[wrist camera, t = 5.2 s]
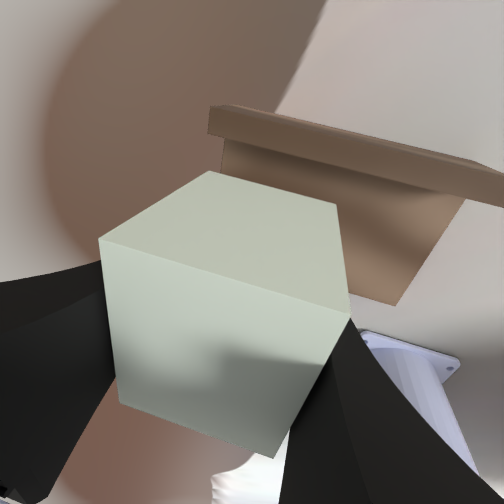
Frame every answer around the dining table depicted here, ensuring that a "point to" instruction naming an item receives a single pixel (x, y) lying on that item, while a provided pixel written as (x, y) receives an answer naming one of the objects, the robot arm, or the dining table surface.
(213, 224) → the sage block
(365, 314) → the dining table surface
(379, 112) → the dining table surface
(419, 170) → the cleat board
